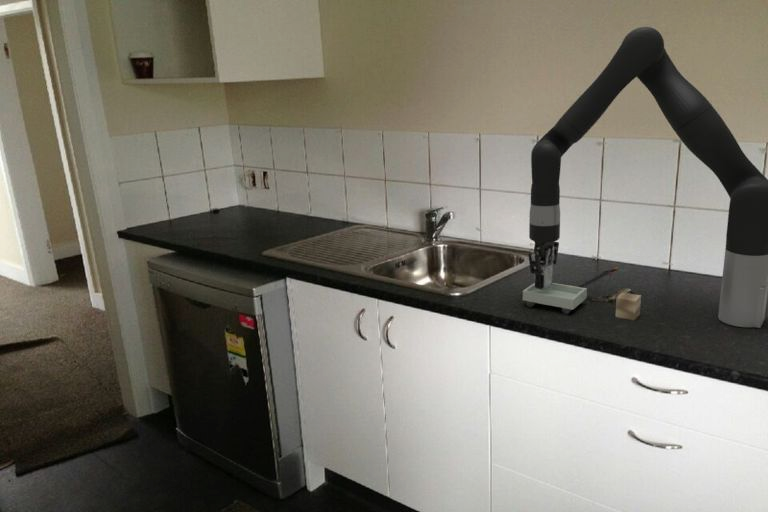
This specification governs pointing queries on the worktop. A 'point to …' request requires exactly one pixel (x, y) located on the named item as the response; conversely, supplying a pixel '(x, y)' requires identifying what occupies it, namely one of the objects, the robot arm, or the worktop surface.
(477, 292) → the worktop surface
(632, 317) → the brass block
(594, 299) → the fantasy weapon
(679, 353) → the worktop surface
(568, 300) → the footed soap dish
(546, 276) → the steel cylinder
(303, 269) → the worktop surface
